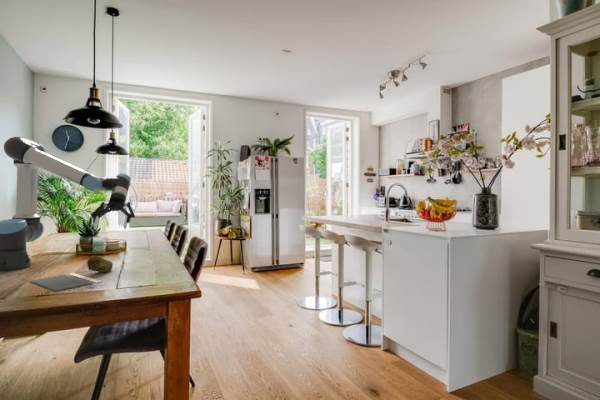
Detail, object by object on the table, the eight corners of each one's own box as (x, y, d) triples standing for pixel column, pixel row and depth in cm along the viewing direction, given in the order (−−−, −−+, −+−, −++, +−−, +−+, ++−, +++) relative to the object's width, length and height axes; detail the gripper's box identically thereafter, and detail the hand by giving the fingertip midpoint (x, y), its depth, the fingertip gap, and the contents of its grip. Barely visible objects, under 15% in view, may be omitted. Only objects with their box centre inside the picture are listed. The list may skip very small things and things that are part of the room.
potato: (119, 270, 165) (119, 254, 165) (92, 276, 154) (92, 258, 153) (108, 268, 169) (108, 252, 169) (82, 274, 157) (81, 257, 157)
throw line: (68, 274, 156) (68, 274, 156) (74, 273, 158) (74, 273, 158) (96, 283, 143) (96, 282, 143) (102, 281, 145) (102, 281, 145)
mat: (29, 281, 144) (29, 280, 144) (64, 275, 155) (64, 274, 155) (55, 291, 131) (55, 290, 131) (91, 284, 141) (91, 282, 141)
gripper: (144, 201, 191) (138, 231, 176) (95, 201, 186) (84, 233, 171) (142, 191, 185) (135, 222, 171) (91, 192, 180) (79, 223, 166)
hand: (109, 227), depth 171 cm, fingers open, 13 cm apart
